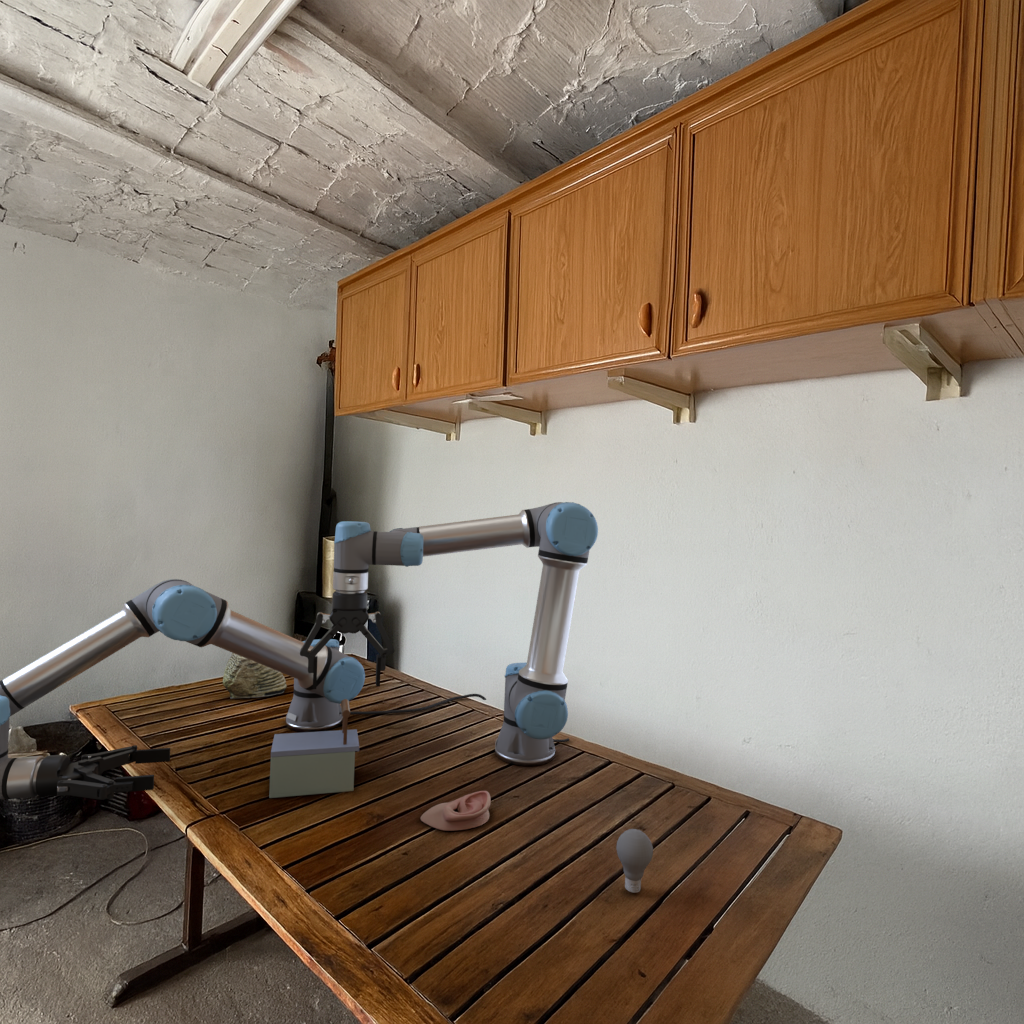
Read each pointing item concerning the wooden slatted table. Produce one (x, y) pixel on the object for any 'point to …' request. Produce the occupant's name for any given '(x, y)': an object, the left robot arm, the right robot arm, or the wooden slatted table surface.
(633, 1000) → the wooden slatted table surface
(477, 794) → the anatomical model
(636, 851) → the light bulb
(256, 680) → the fossil
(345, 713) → the lid
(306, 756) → the chest
